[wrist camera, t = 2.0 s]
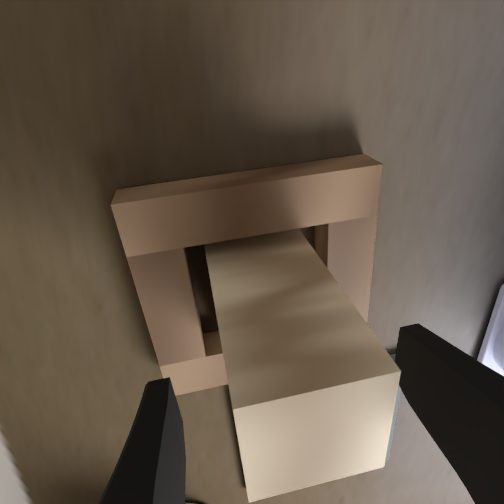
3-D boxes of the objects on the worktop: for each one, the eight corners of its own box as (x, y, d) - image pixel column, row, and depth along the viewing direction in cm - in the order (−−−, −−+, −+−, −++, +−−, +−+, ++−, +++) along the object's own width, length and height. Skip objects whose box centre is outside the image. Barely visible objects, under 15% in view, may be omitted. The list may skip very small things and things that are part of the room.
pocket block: (363, 153, 14) (382, 164, 13) (350, 333, 19) (363, 354, 18) (116, 189, 13) (110, 204, 12) (169, 371, 18) (169, 397, 17)
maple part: (297, 226, 15) (401, 370, 8) (299, 301, 17) (383, 466, 10) (203, 242, 15) (232, 409, 8) (216, 317, 17) (249, 502, 10)
